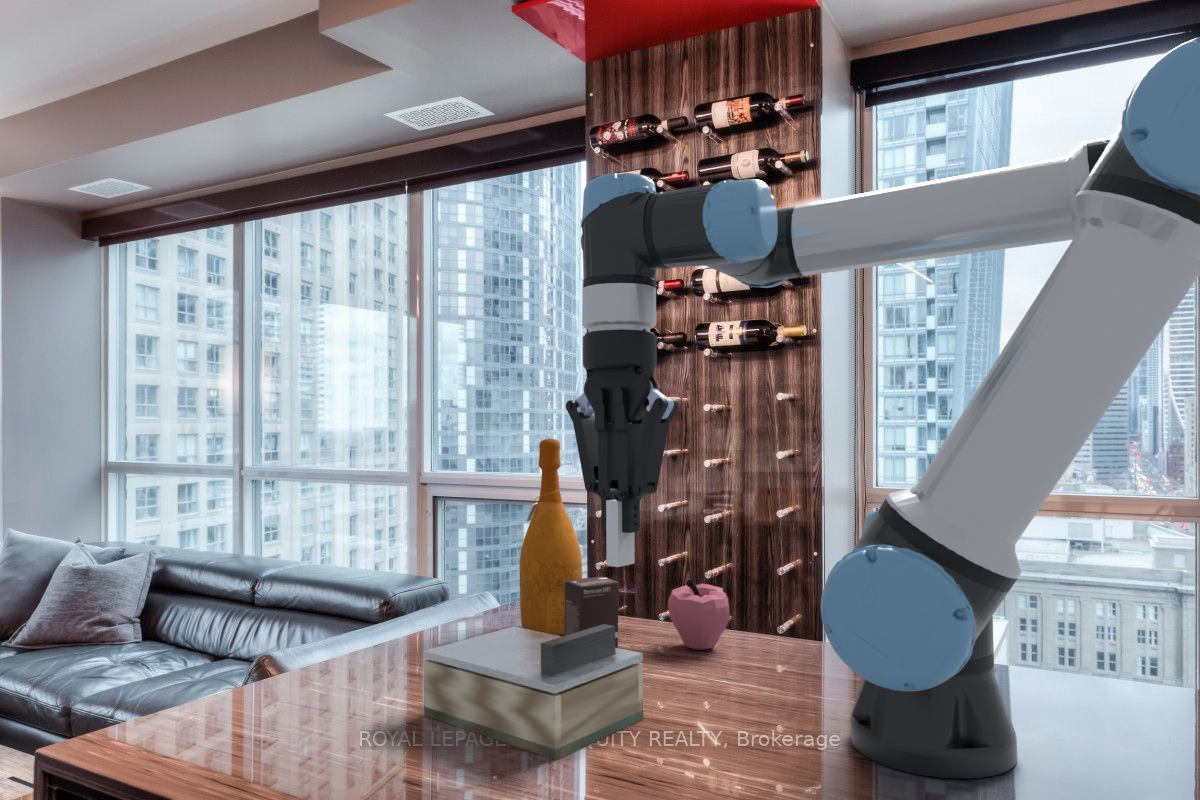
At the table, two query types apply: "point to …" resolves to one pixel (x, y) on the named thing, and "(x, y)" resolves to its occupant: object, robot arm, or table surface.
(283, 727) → the table surface
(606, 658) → the cover plate
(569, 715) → the case
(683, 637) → the apple
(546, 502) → the wine bottle
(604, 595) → the box
